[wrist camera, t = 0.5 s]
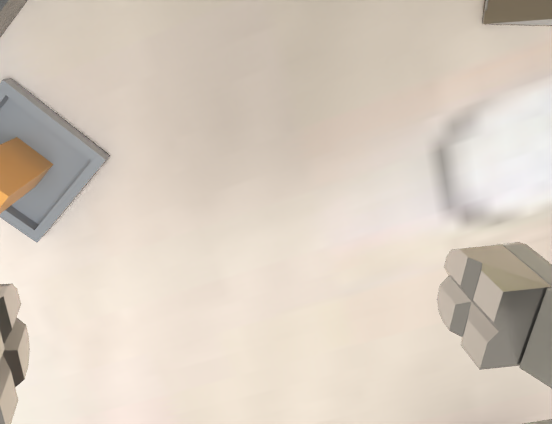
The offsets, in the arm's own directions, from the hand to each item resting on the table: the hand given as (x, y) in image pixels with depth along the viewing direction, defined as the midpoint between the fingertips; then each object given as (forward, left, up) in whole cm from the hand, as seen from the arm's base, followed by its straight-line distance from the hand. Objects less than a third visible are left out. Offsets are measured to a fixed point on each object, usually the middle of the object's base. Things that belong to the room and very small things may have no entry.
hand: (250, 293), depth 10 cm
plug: (+10, -20, -46) cm, 51 cm away
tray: (+10, -20, -46) cm, 51 cm away
